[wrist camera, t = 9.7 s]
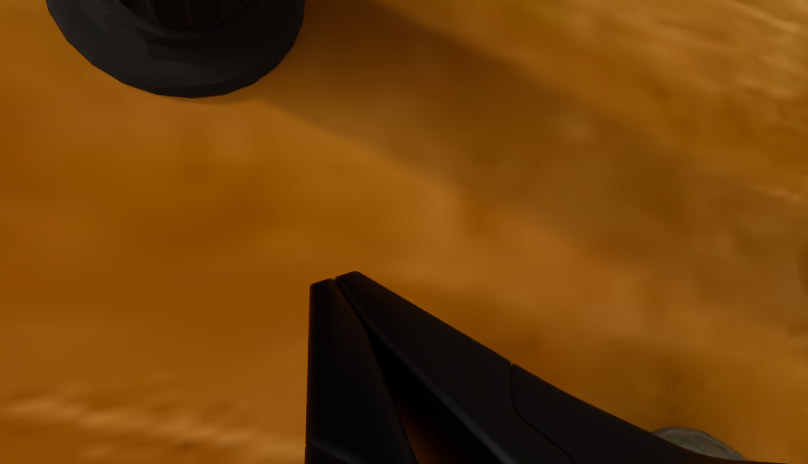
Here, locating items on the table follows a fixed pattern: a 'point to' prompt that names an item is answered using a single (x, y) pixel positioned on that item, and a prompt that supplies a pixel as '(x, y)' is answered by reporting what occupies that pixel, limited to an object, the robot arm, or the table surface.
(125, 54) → the handle grip
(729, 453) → the lid
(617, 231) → the table surface
